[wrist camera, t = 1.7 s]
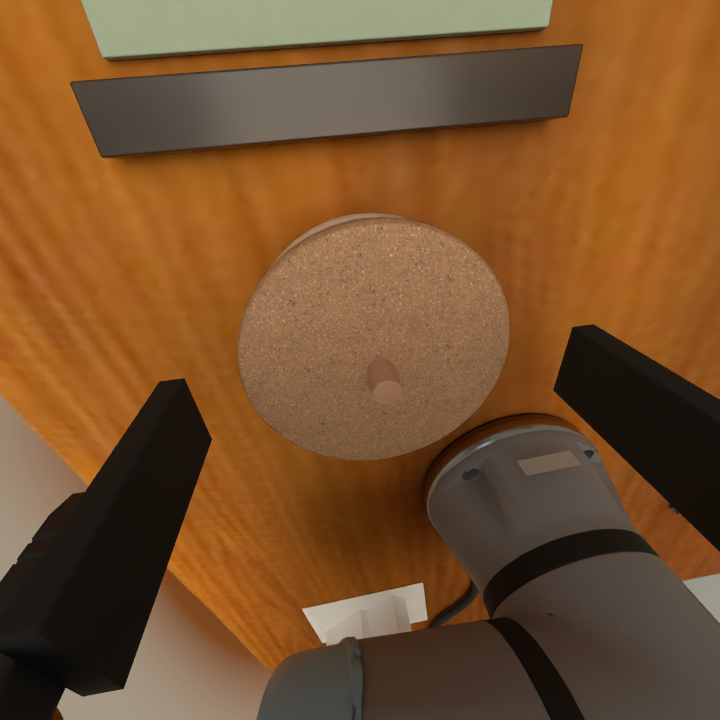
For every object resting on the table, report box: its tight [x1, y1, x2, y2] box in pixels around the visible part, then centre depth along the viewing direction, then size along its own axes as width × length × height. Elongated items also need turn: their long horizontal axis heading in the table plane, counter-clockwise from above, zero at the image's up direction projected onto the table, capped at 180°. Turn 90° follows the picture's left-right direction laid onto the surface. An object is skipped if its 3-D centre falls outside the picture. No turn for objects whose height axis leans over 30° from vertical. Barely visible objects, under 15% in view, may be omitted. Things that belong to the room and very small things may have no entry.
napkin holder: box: [302, 583, 428, 646], centre depth 40 cm, size 15×11×6 cm
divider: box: [70, 44, 583, 158], centre depth 14 cm, size 2×20×2 cm, turn 95°
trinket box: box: [237, 213, 510, 460], centre depth 15 cm, size 11×11×9 cm
